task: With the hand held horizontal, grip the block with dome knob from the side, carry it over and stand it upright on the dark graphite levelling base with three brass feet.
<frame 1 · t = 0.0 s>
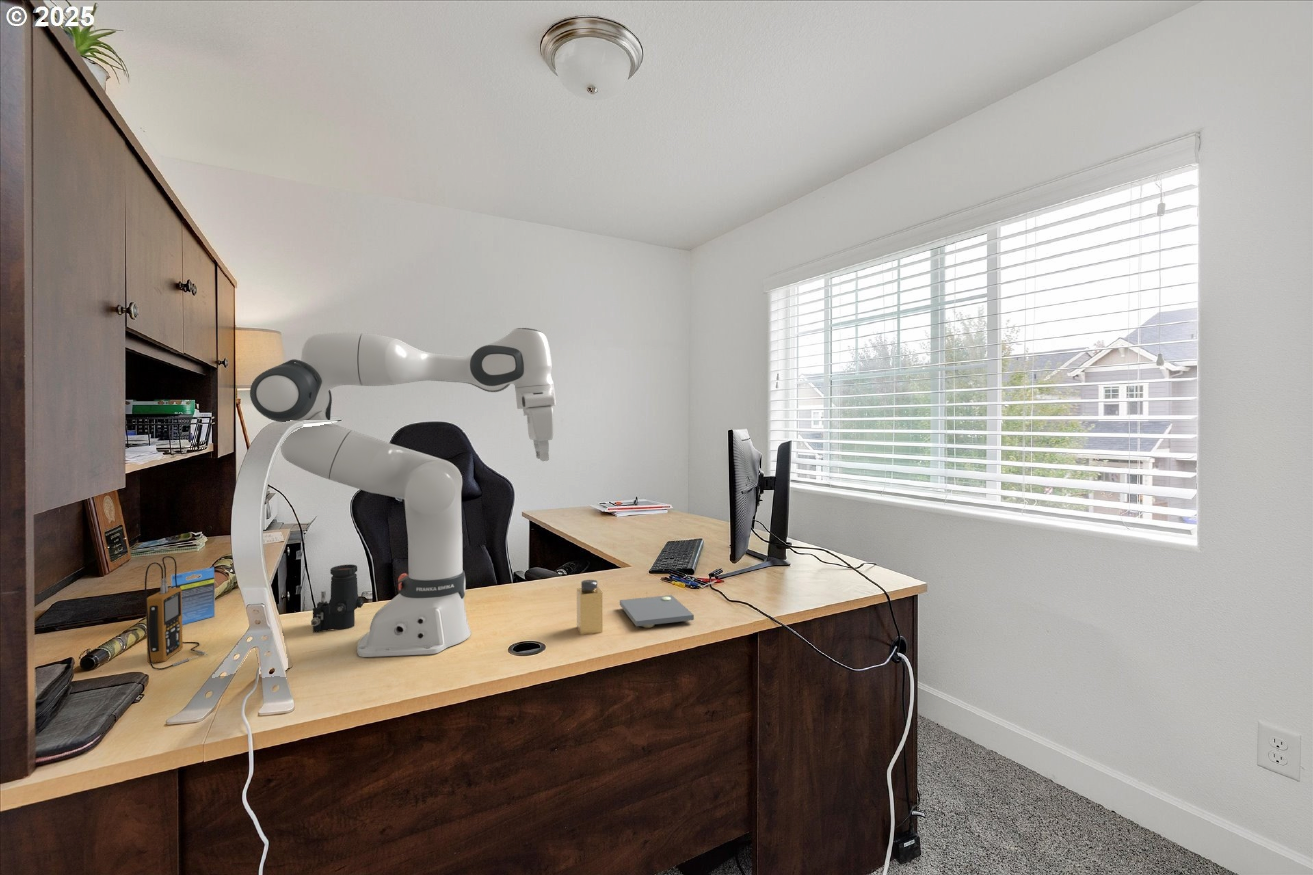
hand: (542, 459, 129), 39 cm above the table, fingers open, 8 cm apart
levelling base: (655, 616, 137), on the table
label tape box: (190, 622, 133), on the table
block with dome knob: (589, 629, 128), on the table
scope: (339, 627, 129), on the table
multimeter: (187, 655, 114), on the table
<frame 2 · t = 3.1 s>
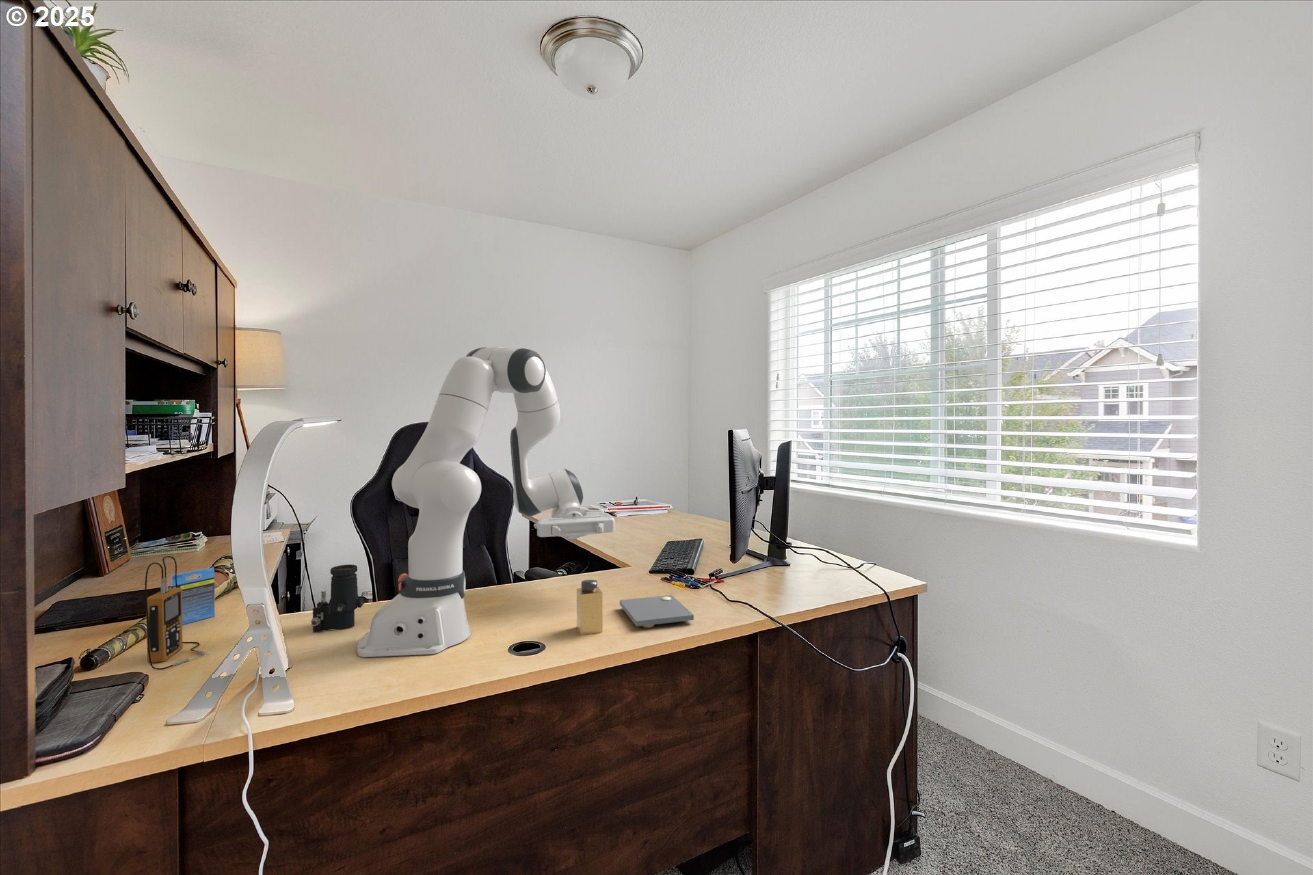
hand: (580, 531, 139), 20 cm above the table, fingers open, 8 cm apart
nothing on the table moved.
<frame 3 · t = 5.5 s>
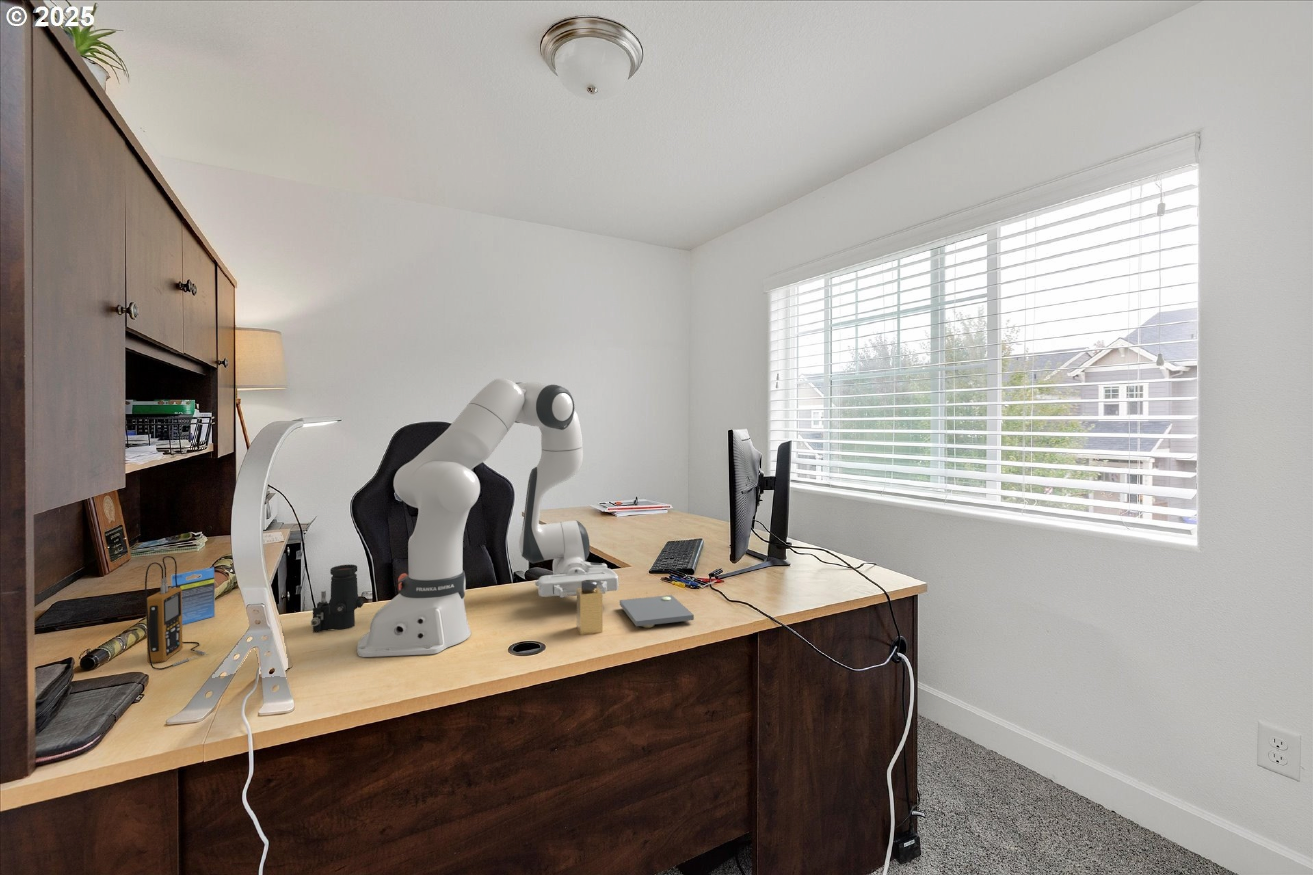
hand: (583, 592, 134), 6 cm above the table, fingers open, 8 cm apart
nothing on the table moved.
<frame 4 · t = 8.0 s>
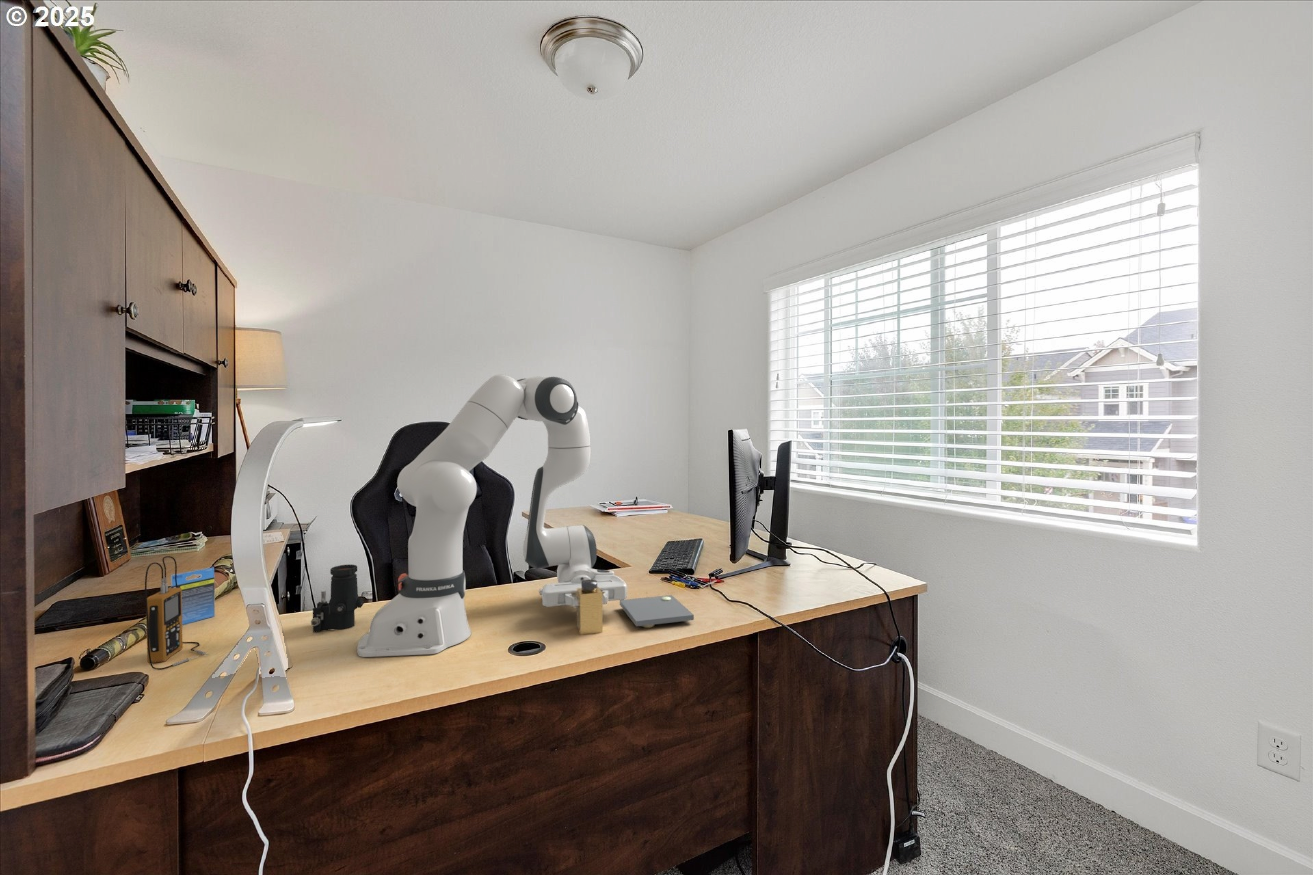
hand: (590, 602, 127), 7 cm above the table, fingers closed on block with dome knob, 5 cm apart
block with dome knob: (589, 629, 128), on the table, touching gripper
everything else where it was.
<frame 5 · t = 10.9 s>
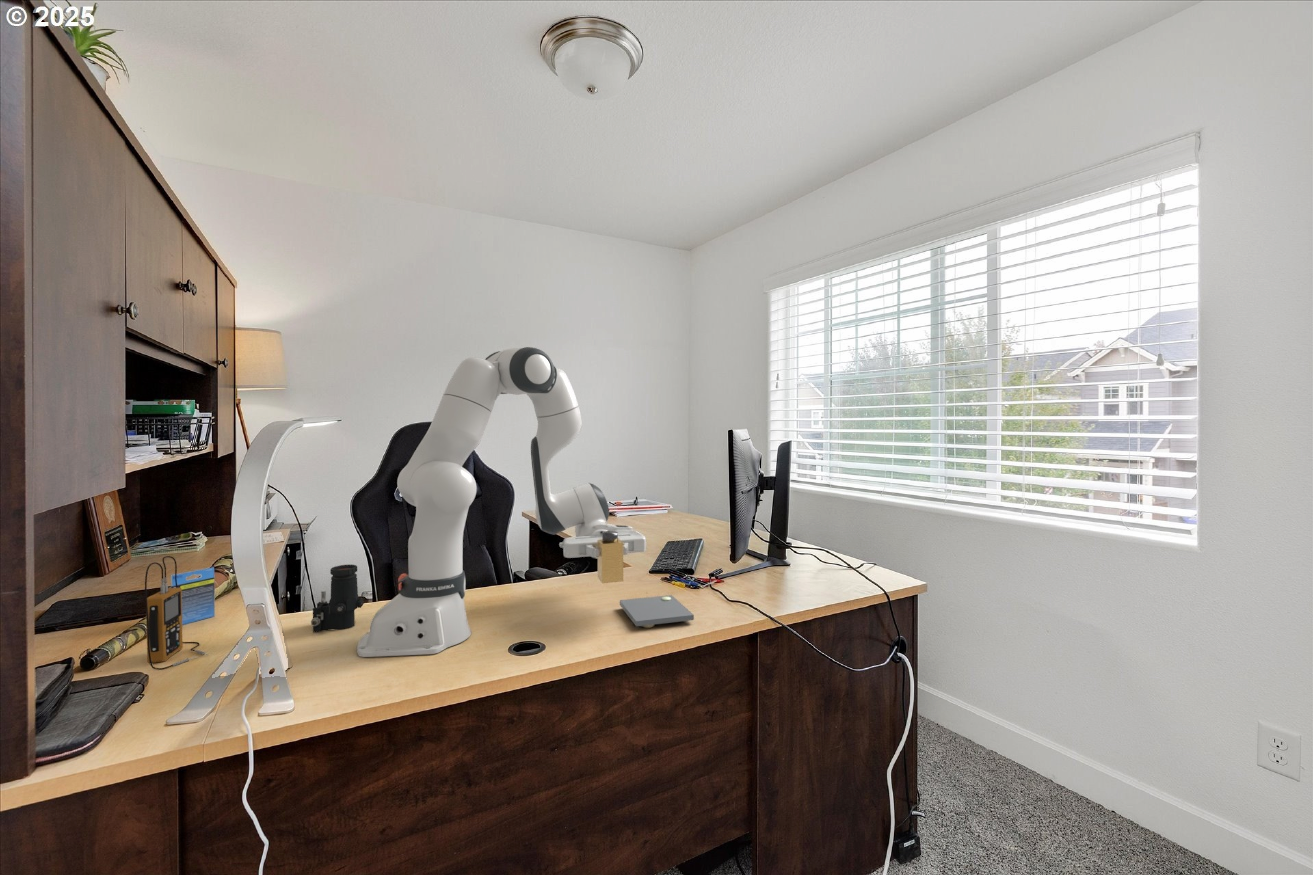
hand: (611, 552, 129), 17 cm above the table, fingers closed on block with dome knob, 5 cm apart
block with dome knob: (610, 579, 130), point 11 cm above the table, touching gripper
everything else where it was.
when the fingers open (10 cm above the table, at t = 13.9 s): block with dome knob drops 1 cm, resting on levelling base.
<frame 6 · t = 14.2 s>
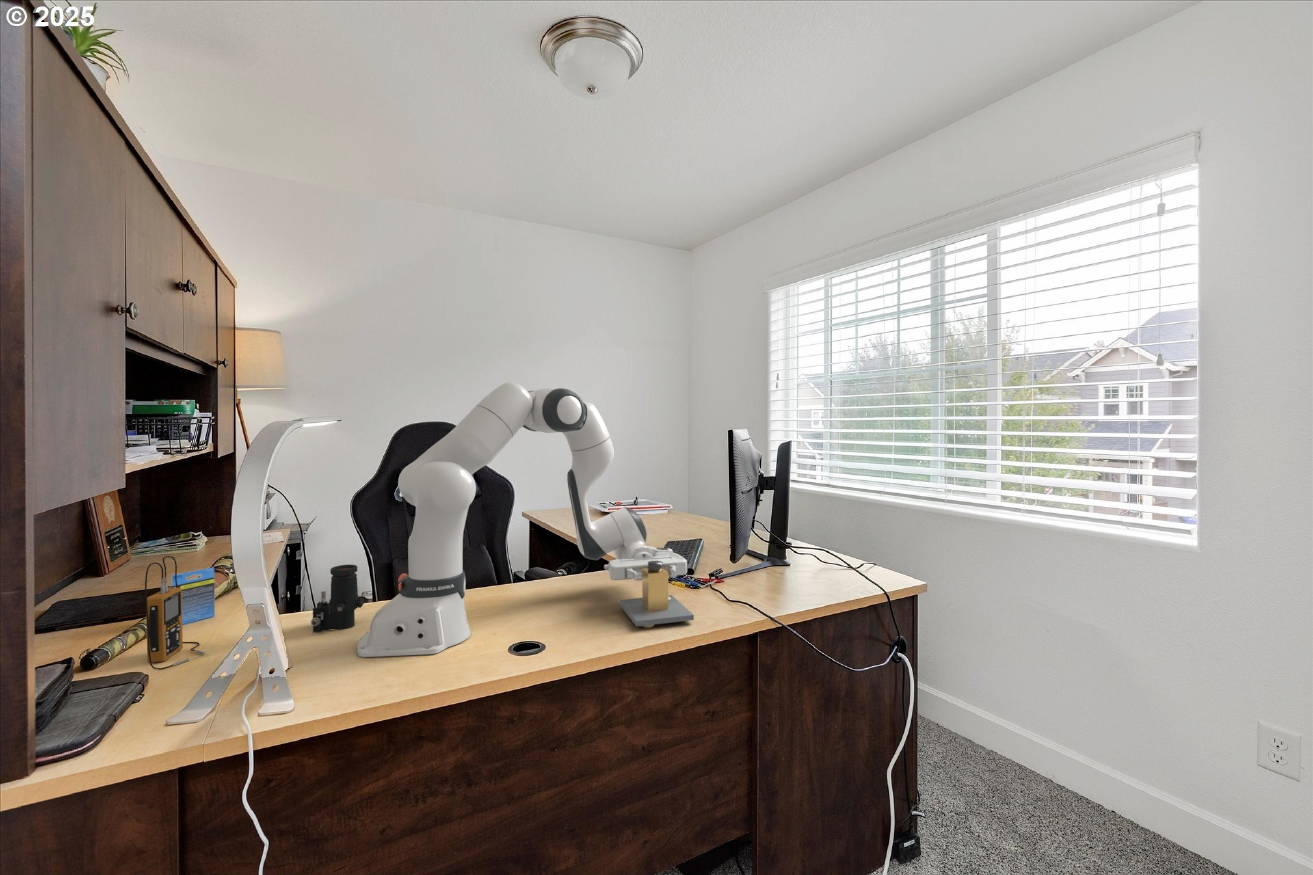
hand: (656, 575, 135), 10 cm above the table, fingers open, 8 cm apart
block with dome knob: (655, 607, 137), point 2 cm above the table, touching levelling base
everything else where it was.
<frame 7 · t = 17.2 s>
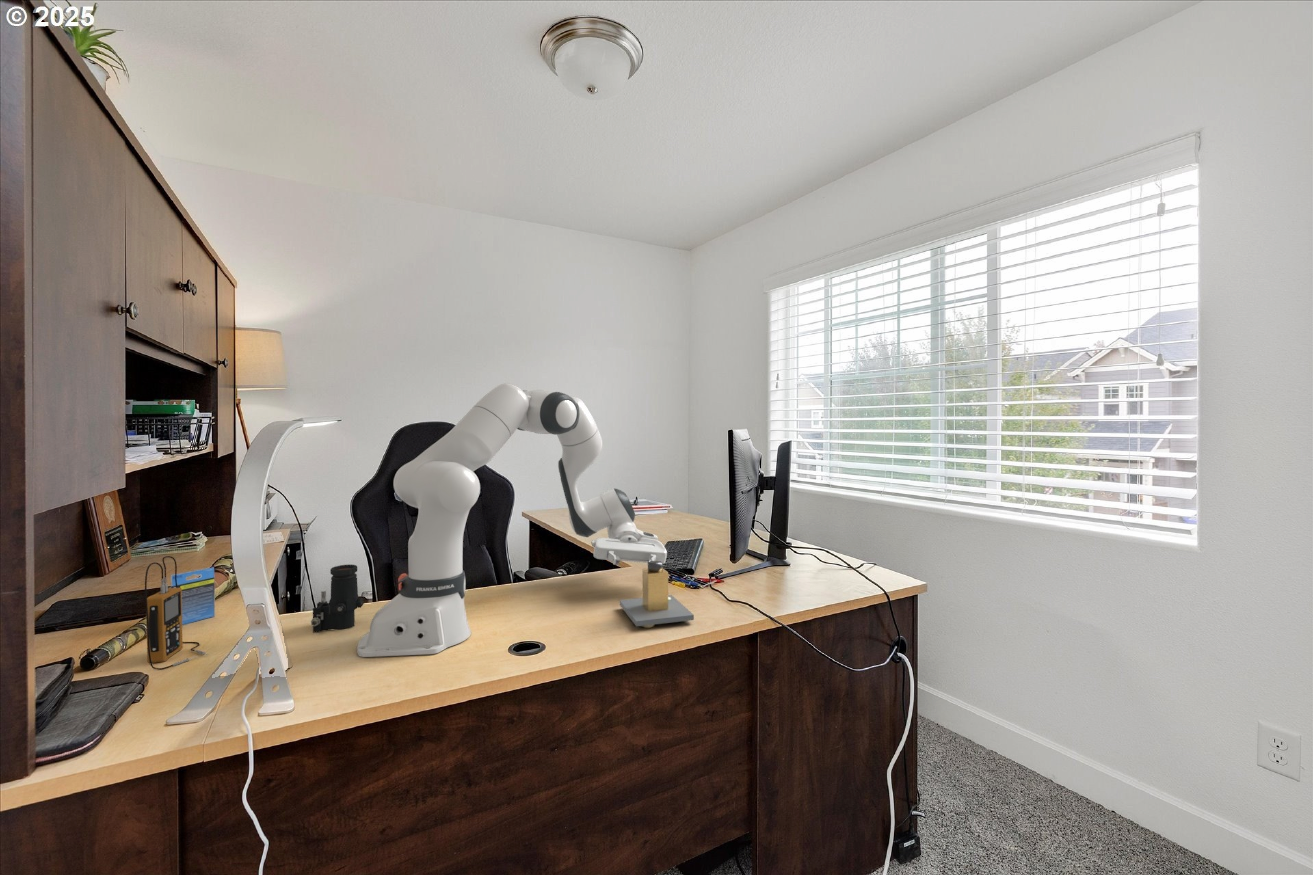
hand: (634, 563, 147), 10 cm above the table, fingers open, 8 cm apart
nothing on the table moved.
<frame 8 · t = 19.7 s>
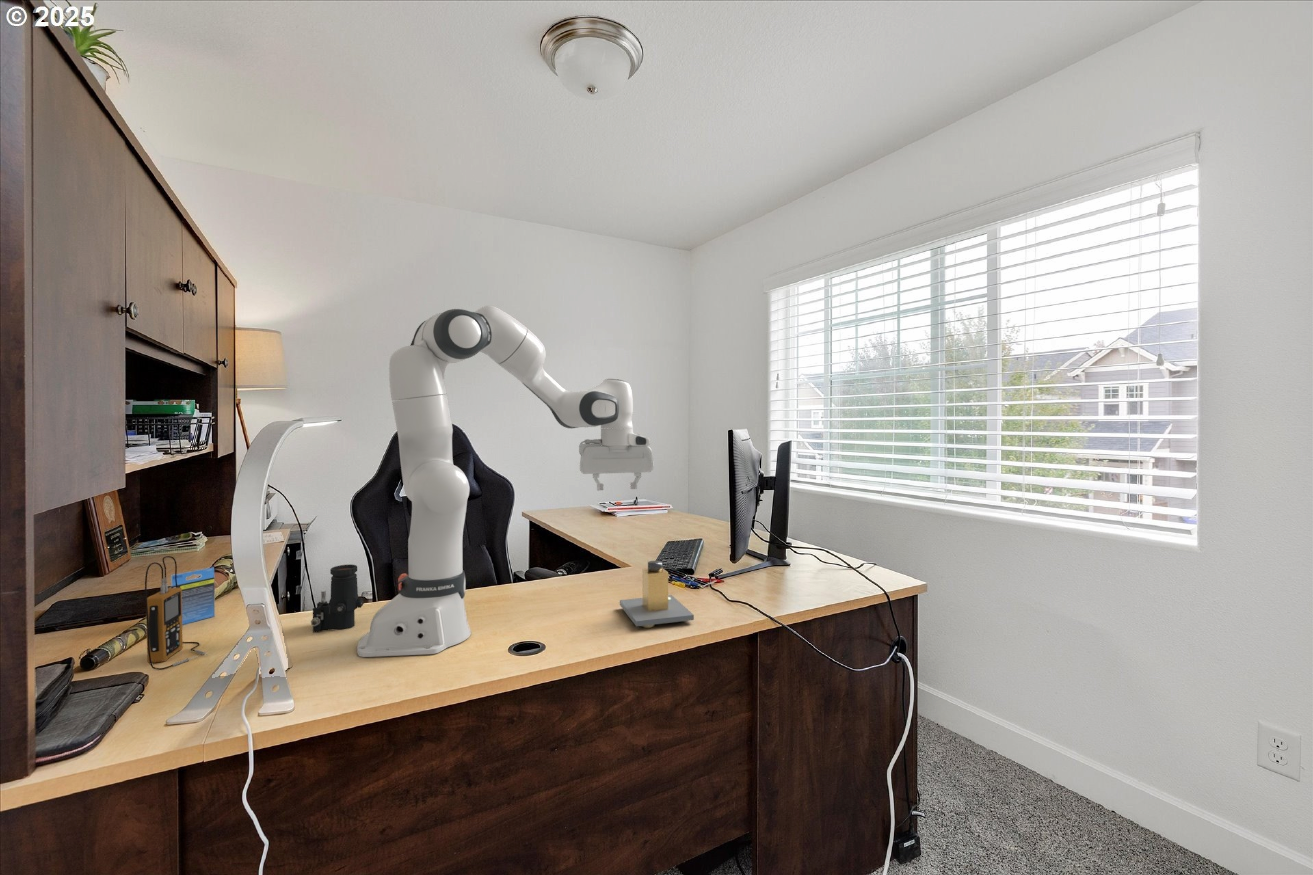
hand: (617, 489, 152), 29 cm above the table, fingers open, 8 cm apart
nothing on the table moved.
at the end: block with dome knob inside the target area on the levelling base (0.1 cm from its centre), point 2.2 cm above the levelling base's base; block with dome knob tilted 0°; the gripper is holding nothing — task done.
